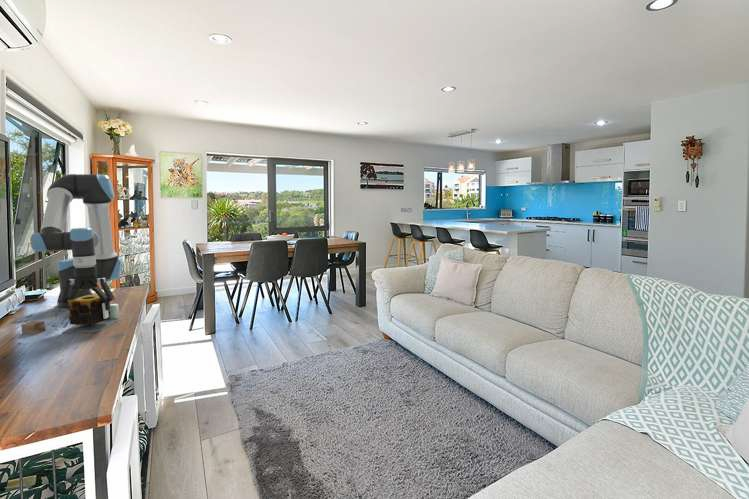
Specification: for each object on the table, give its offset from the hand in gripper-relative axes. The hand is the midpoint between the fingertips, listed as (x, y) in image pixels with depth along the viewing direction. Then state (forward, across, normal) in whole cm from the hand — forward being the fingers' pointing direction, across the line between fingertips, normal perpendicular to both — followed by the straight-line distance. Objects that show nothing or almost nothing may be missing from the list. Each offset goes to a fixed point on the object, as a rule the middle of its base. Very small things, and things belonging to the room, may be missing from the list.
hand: (90, 318), depth 166 cm
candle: (+1, 0, 0) cm, 1 cm away
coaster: (+4, 0, 0) cm, 4 cm away
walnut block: (+4, -19, -3) cm, 20 cm away
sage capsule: (+4, +3, +12) cm, 13 cm away
